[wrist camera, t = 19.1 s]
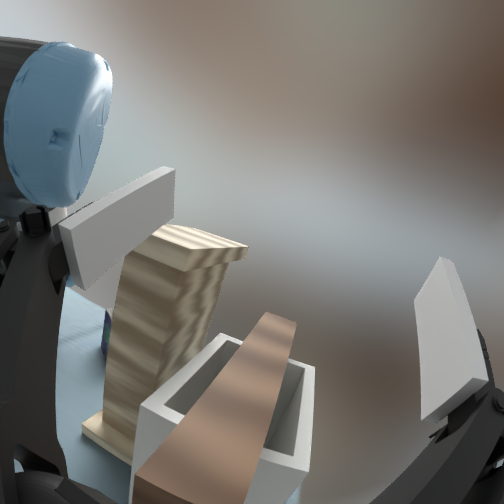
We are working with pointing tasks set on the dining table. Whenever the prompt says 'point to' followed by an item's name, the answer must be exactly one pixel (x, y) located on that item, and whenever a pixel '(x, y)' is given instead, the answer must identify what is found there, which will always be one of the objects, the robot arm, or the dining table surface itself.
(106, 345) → the flask
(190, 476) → the walnut block
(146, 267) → the birch pedestal
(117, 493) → the dining table surface
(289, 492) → the white open box
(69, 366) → the dining table surface
